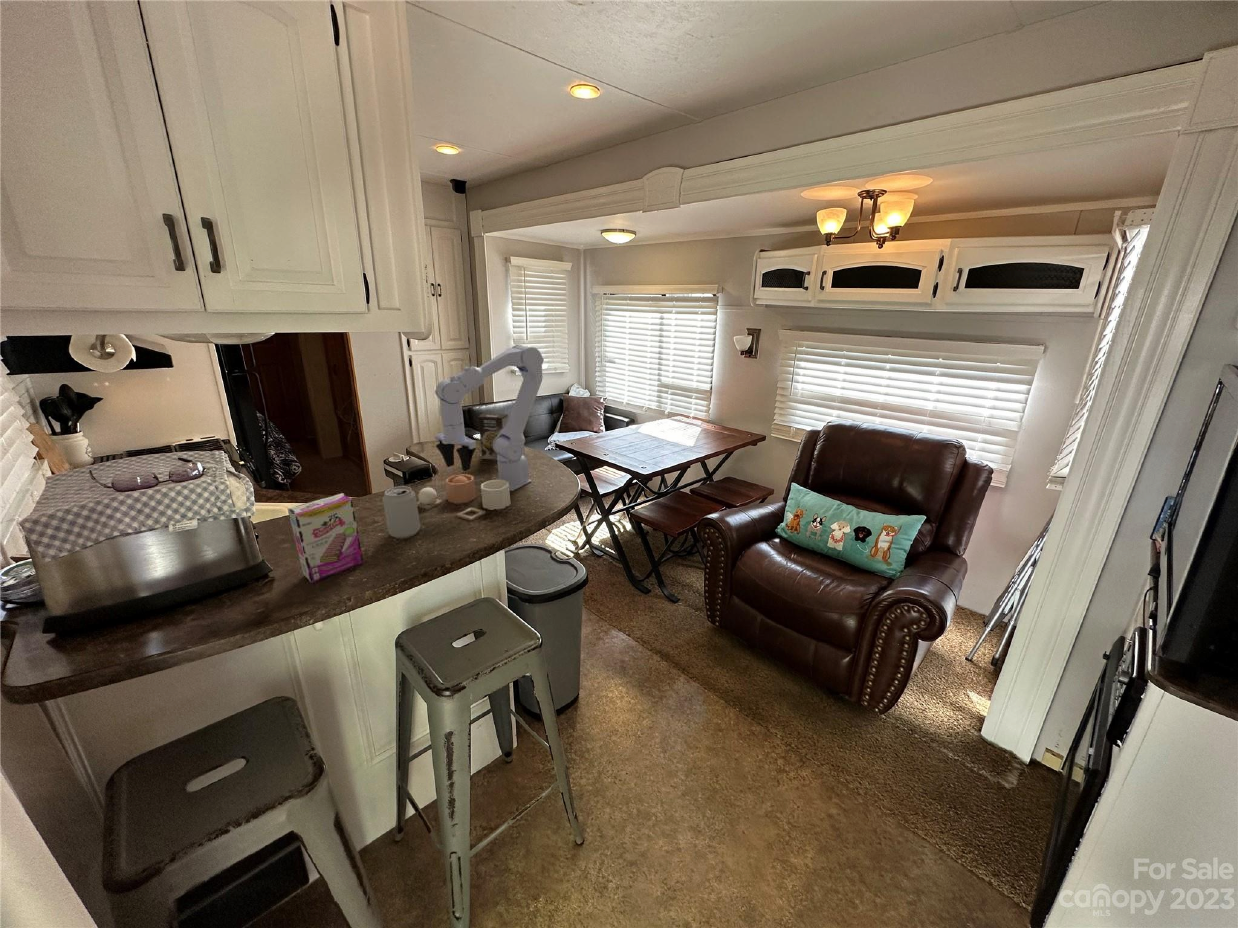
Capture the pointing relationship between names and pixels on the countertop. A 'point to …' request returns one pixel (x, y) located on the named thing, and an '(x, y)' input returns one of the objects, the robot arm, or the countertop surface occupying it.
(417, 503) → the stand
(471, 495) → the terracotta round cup
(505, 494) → the white cup
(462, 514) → the stand
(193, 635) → the countertop surface
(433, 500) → the cream ball
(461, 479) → the terracotta ball
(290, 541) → the countertop surface
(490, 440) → the coffee box
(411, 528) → the can
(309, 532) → the candy bar box
